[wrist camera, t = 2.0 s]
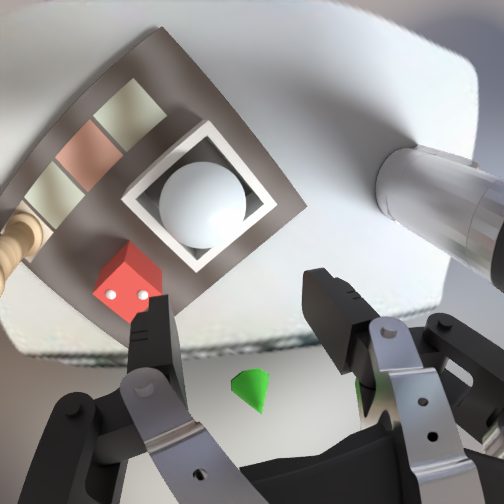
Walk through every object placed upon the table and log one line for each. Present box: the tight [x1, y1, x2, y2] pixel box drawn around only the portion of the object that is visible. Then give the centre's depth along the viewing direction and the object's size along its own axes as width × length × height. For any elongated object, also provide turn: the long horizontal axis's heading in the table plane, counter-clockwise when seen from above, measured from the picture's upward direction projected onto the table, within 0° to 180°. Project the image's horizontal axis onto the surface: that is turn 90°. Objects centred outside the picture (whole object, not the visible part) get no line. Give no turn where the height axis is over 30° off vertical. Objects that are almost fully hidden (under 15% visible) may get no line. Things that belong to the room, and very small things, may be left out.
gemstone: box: [231, 368, 269, 414], centre depth 39 cm, size 6×6×6 cm
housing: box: [121, 119, 277, 273], centre depth 25 cm, size 9×9×4 cm
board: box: [0, 27, 307, 349], centre depth 27 cm, size 25×22×2 cm
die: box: [93, 241, 162, 323], centre depth 27 cm, size 4×4×4 cm
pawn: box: [0, 212, 43, 297], centre depth 19 cm, size 4×4×11 cm
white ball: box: [159, 162, 246, 249], centre depth 23 cm, size 6×6×6 cm
